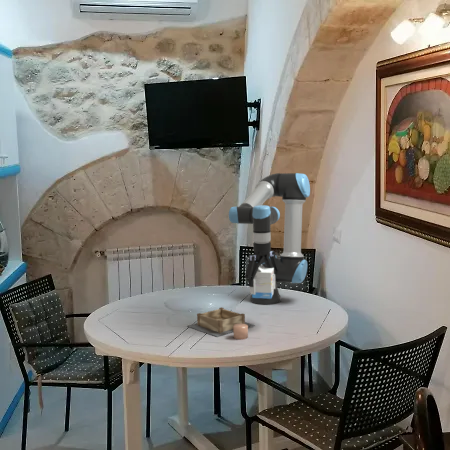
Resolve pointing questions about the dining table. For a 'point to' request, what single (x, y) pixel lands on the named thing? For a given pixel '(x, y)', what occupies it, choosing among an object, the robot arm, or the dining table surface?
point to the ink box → (264, 282)
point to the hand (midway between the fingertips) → (262, 291)
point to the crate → (218, 322)
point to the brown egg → (240, 331)
